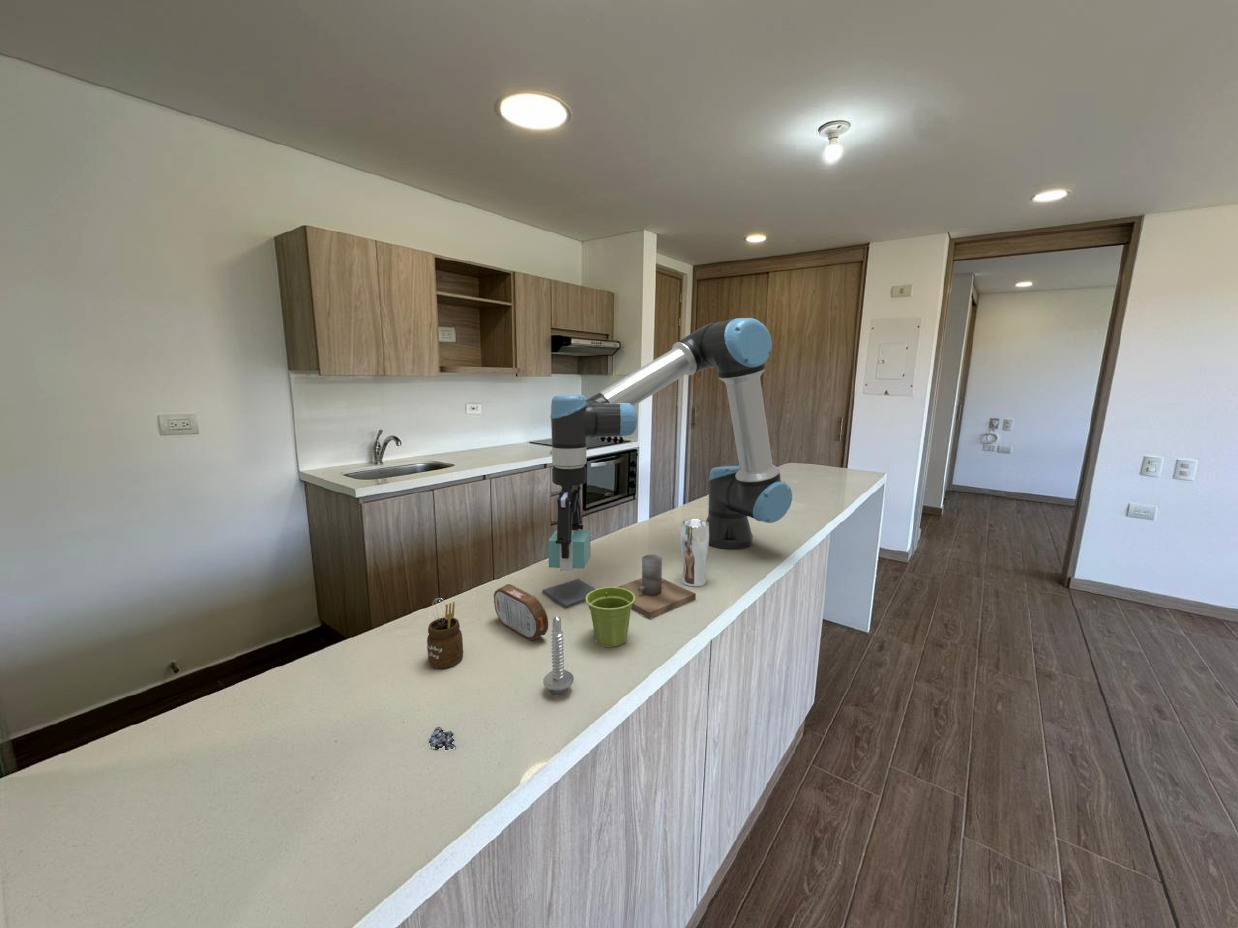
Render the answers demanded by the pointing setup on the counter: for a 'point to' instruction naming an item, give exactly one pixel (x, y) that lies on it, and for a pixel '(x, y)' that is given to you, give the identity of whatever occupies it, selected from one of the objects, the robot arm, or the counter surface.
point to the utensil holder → (444, 640)
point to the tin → (521, 611)
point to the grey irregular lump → (441, 739)
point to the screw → (558, 663)
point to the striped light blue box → (579, 546)
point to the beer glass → (694, 551)
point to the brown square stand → (656, 590)
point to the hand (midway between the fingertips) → (570, 563)
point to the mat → (569, 593)
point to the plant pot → (610, 614)
